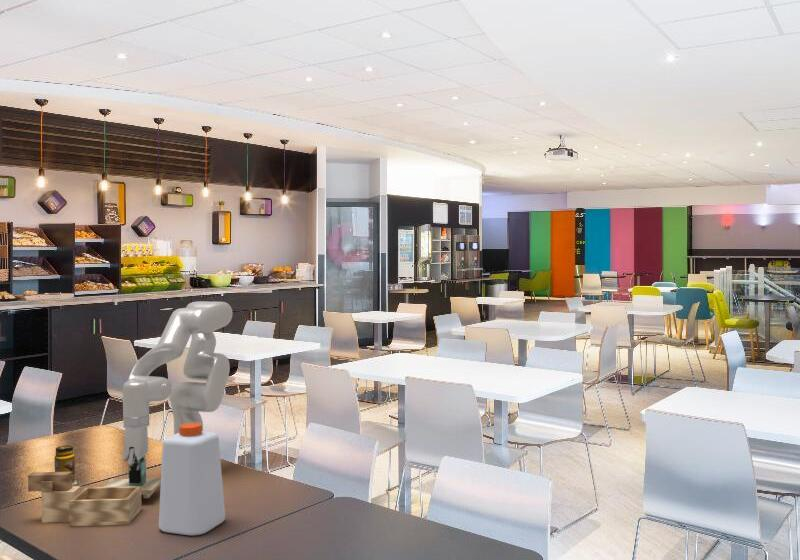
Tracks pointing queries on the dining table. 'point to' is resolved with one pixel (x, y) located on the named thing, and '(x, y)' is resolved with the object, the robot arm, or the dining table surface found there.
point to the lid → (146, 483)
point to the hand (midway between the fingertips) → (137, 479)
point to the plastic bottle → (191, 482)
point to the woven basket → (90, 505)
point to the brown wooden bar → (60, 480)
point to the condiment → (65, 460)
